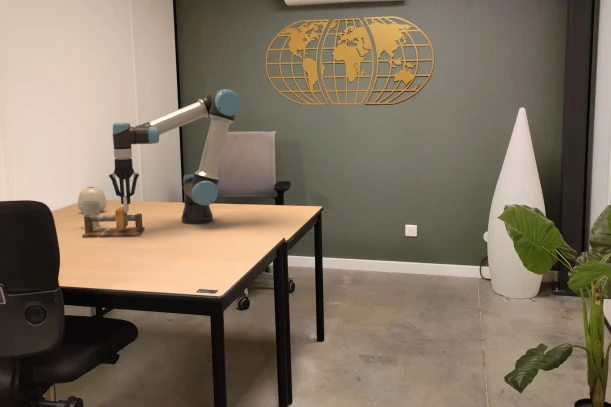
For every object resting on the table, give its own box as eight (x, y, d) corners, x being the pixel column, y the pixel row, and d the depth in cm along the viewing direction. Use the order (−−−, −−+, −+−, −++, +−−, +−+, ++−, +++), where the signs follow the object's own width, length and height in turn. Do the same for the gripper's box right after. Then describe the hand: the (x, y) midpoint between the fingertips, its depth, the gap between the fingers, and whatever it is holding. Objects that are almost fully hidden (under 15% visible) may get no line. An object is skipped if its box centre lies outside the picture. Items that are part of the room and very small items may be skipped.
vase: (77, 215, 312) (75, 189, 310) (80, 210, 326) (79, 185, 323) (105, 214, 315) (103, 188, 313) (107, 209, 329) (106, 184, 326)
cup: (95, 229, 280) (93, 203, 278) (79, 228, 282) (77, 203, 280) (104, 225, 288) (102, 200, 286) (89, 224, 289) (87, 200, 287)
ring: (127, 225, 275) (126, 206, 273) (123, 229, 266) (122, 210, 265) (121, 225, 275) (120, 207, 273) (116, 229, 266) (115, 210, 265)
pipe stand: (144, 229, 278) (143, 211, 277) (138, 236, 265) (137, 217, 263) (91, 230, 277) (90, 212, 275) (82, 237, 263) (80, 218, 262)
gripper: (140, 157, 269) (142, 209, 273) (110, 157, 268) (113, 209, 272) (136, 159, 262) (139, 212, 266) (105, 159, 261) (109, 213, 265)
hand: (126, 211), depth 269 cm, fingers closed
